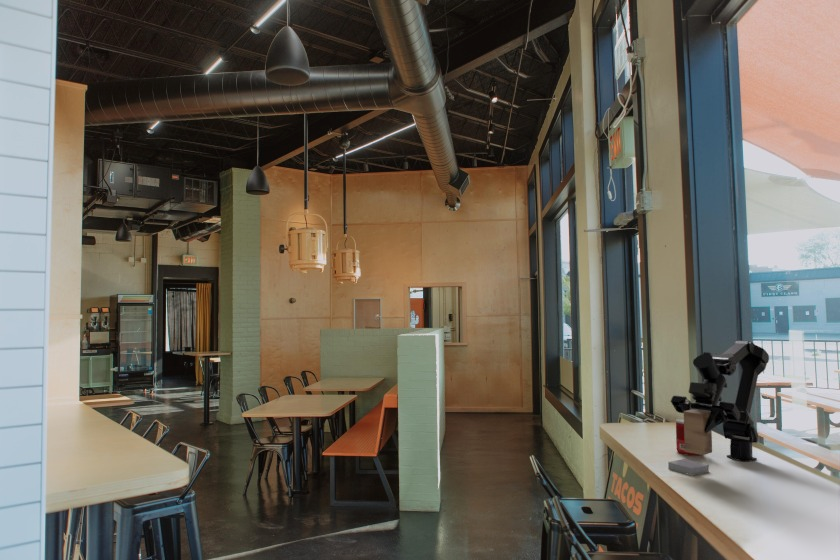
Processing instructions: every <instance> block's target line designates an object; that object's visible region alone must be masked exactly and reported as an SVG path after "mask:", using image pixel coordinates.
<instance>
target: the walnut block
mask: <svg viewBox="0 0 840 560" xmlns="http://www.w3.org/2000/svg"><path fill="white" fill-rule="evenodd" d="M710 414H711V412H709V411H702V410H698V409H691V410H687V411H684V413H683V419H684V439H685V452H690V453H695V454H699V455H698V456H706V455H708V454H711V453H713V434H712V433H713V432H712V431H713V429H712V430H710V431H709V432H707V433H705V427H706V424H707V422H708V419H709V417H710Z"/></svg>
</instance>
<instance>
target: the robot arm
mask: <svg viewBox="0 0 840 560" xmlns="http://www.w3.org/2000/svg"><path fill="white" fill-rule="evenodd" d="M692 362H693V366H694V368H695V369H696V372H697V374H698V376H699V377H700V378H701V379H703V382H695V381H694V382H692V381H691V382H690V383H689V386H688V387H689V388H688V393H689V394H691V395H692V396H691V397H692V399H693V401H691V400H689V399H688V398H687V396H683V395H676V394H675V395H673V396H672V397H671V399H670V403H671V404H672V405H671V406H673V408H674V410H675V411H676V412H677V413H679V414H684V411H687V410H691V409H695V410H702V411H709V412H711V414H710V417H709V419H708V422H707V424H706V427H705V433H707V432H709V431H710V430H712V431H713V429H714V428H716V427H718V426H719V425H721V424H722V429H723V435H724V439H728V440H729V439H730V441H729V443H730V444H729V450H730V451H729V453H730V454H728V455H726V458H730V459H734V460H737V461H741V462H749V461H750V460H751V461H757V460H758V458H757V457H755V456H754V457H753V443H755V444H756V443H758V441H759V433H758V431H757V430H756V428H755V426H754V425H755V423H754V420H753V418H752V415H751V410H752V405H753V399H754V396H755V391H756V387H757V382H758V378H759V375H760V374H762V373H763V372H764V371H765V370H766V367H767V366H768V365H767V364H768V363H769V362H770V355H769V353H768V352H767V351H766V349H764V348H763V347H762V346H758V345H756V344H755V343H754V342H753V341H750V340H737V341H734V344H733V345H732V346H730V347H729V348H728V349H727V350H725V351H724V352H723V353H721V354H720V353H719V354H714V355H712V353H711V352H709V351H708V352H707V351H704V352H702V354H700V355H697V356H696V357H695V358H693V361H692ZM738 363H739V365H740V367H741V369H742V371H741V375H740V380H739V384H738V387H737V388H738V389H737V393H736V396H735V402H730V401H722V400H723V398H722V397H721V395H722V393H723V390H724V388H725V389H726V388H728V383H727V378H726V377H725V376H729V377H730V376H732V375H734V373H735V372H736V370H737V364H738ZM718 403H719V404H718ZM751 461H750V462H751Z"/></svg>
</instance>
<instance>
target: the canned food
mask: <svg viewBox="0 0 840 560" xmlns="http://www.w3.org/2000/svg"><path fill="white" fill-rule="evenodd" d="M675 432H676V433H675V435H676V436H675V437H676V441H675V442H676V444H675V445H676V452H677V453H679V454H680V453H681V454H680V455H684V454H686V456H691V455H698V456H700V455H699V454H695V453H690V452H685V439H684V418H676V419H675Z"/></svg>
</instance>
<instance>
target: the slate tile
mask: <svg viewBox="0 0 840 560" xmlns="http://www.w3.org/2000/svg"><path fill="white" fill-rule="evenodd" d="M667 462H668V466H667V467H668V470H672V471H674V470H675V472H678V471H680V472H679V473H681V472H683V473H682V474H685V473H688V474H691V475H690V476H692V475H693V476H696V475H695V474H698V475H701V474H700V473H702V474H707V473H709V469H710V468H709V464H706V463H704V462H703V463H702V462H699V461H695V460H690V459H688V458H681V459H678V460H677V459H676V460H672V461H667ZM688 474H687V475H688Z"/></svg>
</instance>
